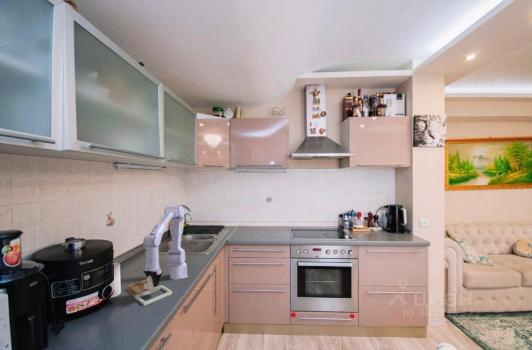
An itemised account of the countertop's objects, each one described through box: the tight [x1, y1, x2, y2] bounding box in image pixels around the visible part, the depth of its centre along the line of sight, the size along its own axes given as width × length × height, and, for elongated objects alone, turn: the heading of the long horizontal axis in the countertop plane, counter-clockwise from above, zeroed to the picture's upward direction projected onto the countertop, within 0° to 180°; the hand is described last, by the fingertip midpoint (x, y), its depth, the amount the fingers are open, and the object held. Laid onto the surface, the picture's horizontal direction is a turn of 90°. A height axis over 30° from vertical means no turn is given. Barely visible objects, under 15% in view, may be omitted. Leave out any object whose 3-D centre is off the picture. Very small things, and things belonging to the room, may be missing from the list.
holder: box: [123, 278, 148, 299], centre depth 130 cm, size 14×14×3 cm
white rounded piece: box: [145, 275, 160, 293], centre depth 121 cm, size 7×5×7 cm
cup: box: [110, 262, 122, 299], centre depth 125 cm, size 8×8×16 cm
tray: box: [134, 285, 173, 308], centre depth 122 cm, size 14×11×2 cm
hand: (153, 284), depth 121 cm, fingers closed on white rounded piece, 5 cm apart
